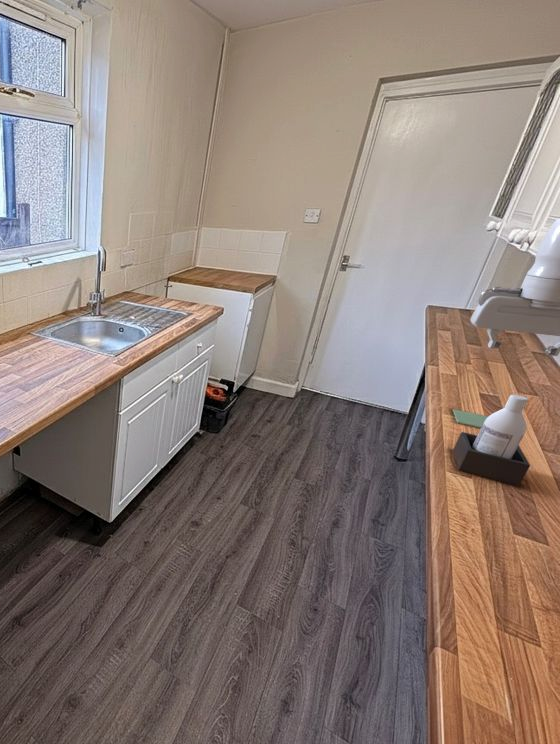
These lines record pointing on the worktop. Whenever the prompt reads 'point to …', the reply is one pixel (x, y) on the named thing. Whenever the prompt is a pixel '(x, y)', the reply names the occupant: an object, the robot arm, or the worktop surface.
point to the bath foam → (503, 429)
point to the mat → (469, 418)
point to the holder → (489, 462)
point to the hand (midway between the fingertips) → (521, 351)
